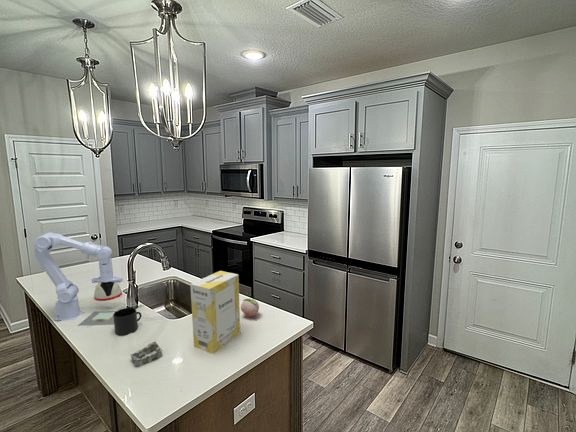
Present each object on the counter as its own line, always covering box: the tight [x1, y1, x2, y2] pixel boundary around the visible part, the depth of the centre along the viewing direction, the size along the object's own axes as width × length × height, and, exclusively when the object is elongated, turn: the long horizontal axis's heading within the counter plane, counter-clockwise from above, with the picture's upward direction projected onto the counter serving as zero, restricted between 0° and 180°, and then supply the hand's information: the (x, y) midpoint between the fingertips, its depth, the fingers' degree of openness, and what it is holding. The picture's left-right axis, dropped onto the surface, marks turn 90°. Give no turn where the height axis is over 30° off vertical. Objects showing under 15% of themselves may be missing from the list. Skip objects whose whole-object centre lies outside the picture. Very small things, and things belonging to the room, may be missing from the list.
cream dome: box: [93, 276, 123, 302], centre depth 178 cm, size 14×14×15 cm
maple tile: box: [92, 312, 115, 322], centre depth 153 cm, size 8×1×7 cm
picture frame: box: [77, 310, 117, 327], centre depth 153 cm, size 18×14×1 cm
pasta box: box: [189, 270, 241, 355], centre depth 133 cm, size 18×10×28 cm, turn 151°
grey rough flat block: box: [129, 341, 163, 367], centre depth 122 cm, size 11×8×4 cm
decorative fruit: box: [240, 298, 260, 318], centre depth 154 cm, size 9×8×10 cm
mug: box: [113, 307, 142, 336], centre depth 143 cm, size 9×12×9 cm
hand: (108, 295), depth 159 cm, fingers closed
